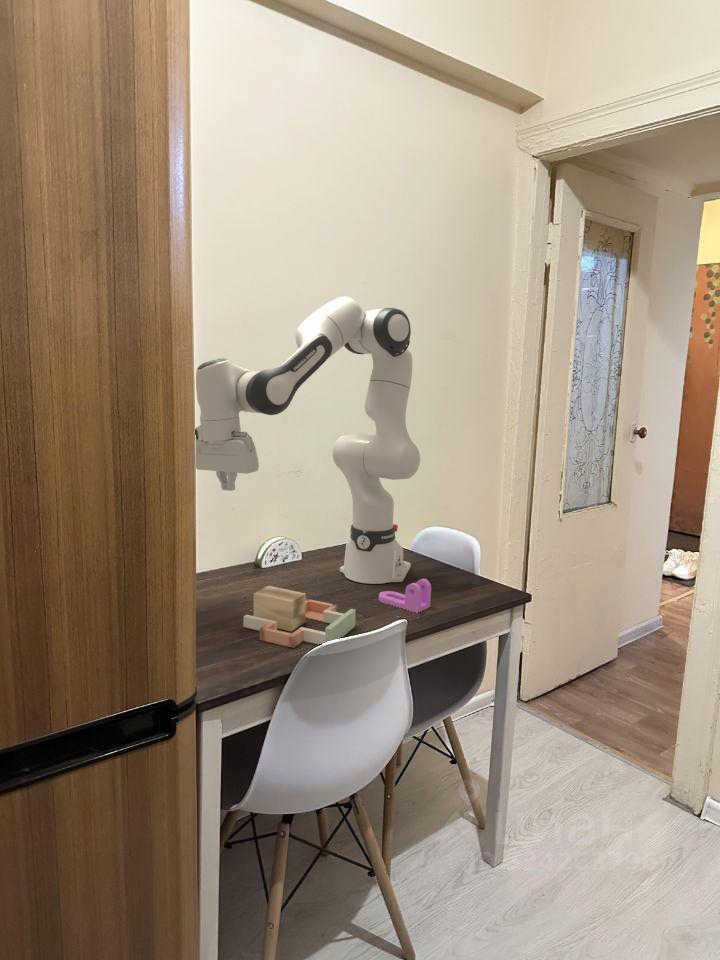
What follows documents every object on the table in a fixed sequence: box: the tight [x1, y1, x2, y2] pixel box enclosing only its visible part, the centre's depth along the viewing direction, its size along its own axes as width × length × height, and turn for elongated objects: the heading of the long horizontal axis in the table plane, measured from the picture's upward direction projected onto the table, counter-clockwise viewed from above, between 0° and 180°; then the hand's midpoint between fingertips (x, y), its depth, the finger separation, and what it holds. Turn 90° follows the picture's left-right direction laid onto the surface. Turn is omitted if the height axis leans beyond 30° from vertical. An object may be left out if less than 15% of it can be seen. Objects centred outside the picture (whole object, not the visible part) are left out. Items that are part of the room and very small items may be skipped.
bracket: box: [378, 578, 432, 614], centre depth 168 cm, size 13×6×7 cm, turn 51°
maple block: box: [253, 585, 307, 632], centre depth 154 cm, size 6×10×7 cm, turn 64°
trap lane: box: [243, 598, 357, 649], centre depth 152 cm, size 20×22×4 cm
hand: (228, 490), depth 159 cm, fingers closed
